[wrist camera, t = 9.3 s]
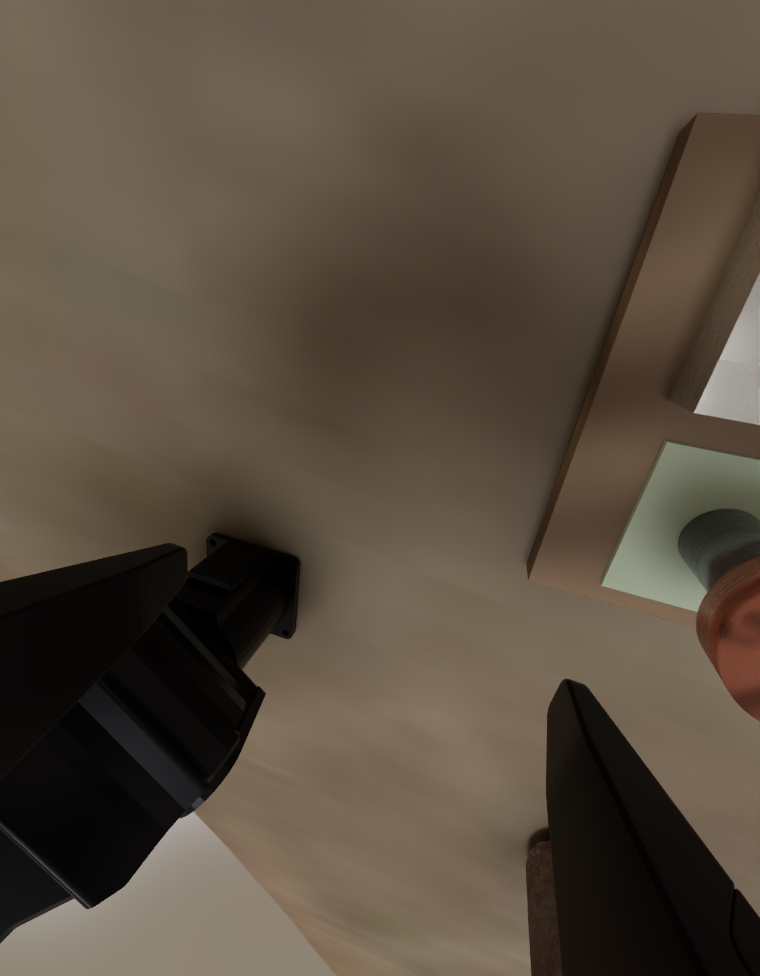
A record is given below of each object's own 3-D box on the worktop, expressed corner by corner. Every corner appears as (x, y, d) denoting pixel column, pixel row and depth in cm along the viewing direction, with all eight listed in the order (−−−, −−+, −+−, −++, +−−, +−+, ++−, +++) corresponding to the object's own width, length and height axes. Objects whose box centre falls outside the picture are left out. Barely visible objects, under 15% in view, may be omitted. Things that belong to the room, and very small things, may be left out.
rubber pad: (771, 628, 18) (775, 633, 17) (599, 582, 19) (601, 585, 19) (875, 481, 15) (882, 484, 14) (664, 440, 16) (666, 441, 16)
